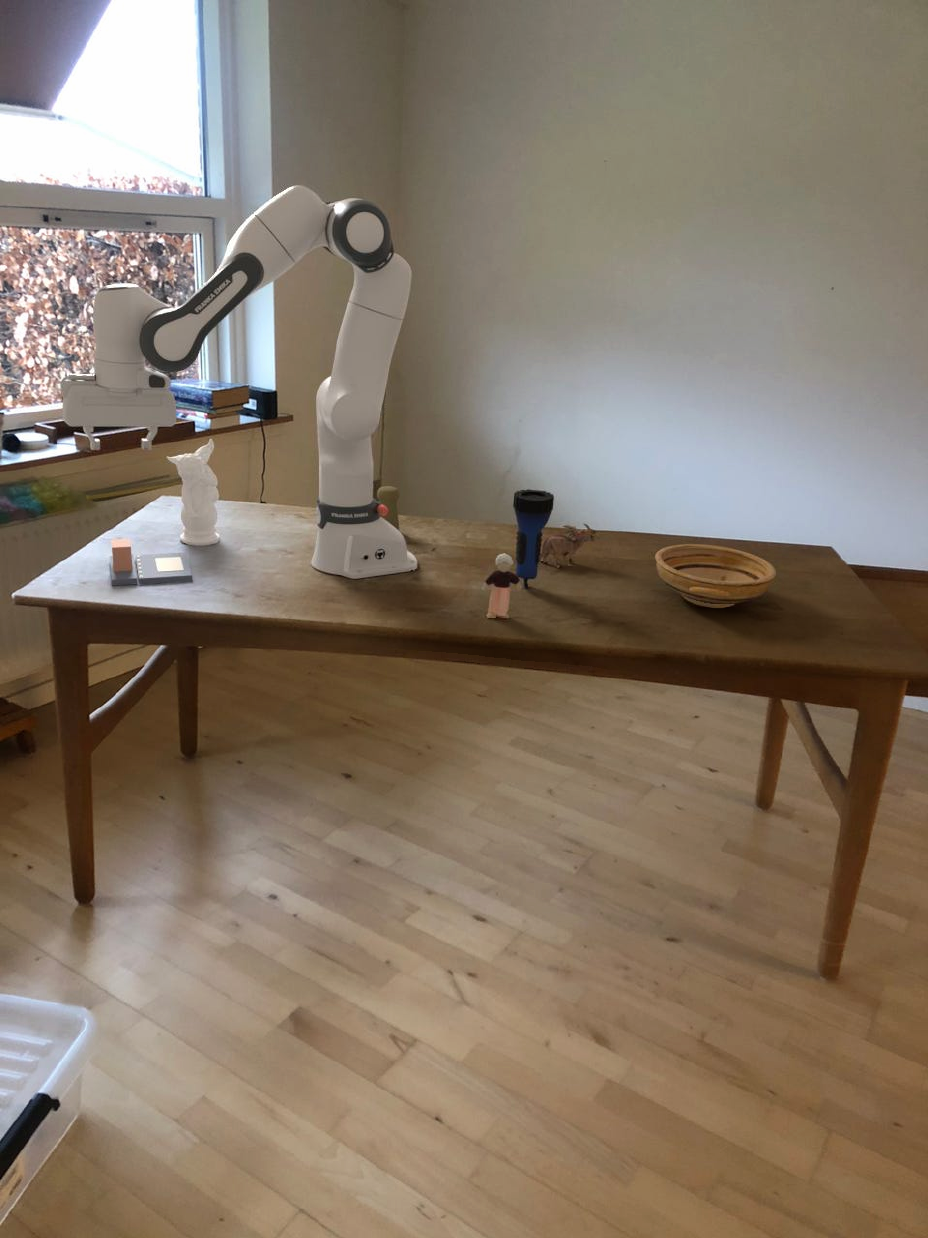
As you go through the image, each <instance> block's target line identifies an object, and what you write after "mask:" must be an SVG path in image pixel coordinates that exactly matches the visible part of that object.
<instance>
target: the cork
mask: <svg viewBox="0 0 928 1238" xmlns="http://www.w3.org/2000/svg"><path fill="white" fill-rule="evenodd" d="M376 497H377V499H378V500H377V501H378V502H380V503H381V504H382V505H385V506H386V507H387V508H388V513H387V515H385V516H381V517H382V518H383V519H385V520H386V521H387V522H389V523H390V524H391V525H392V526H394V527H395V528H396V529H397V530H400V521H399V511H398V500H399V498H400V491H399V490H398V488H397V487H394V486H390V485H387V486H386V485H385V486H381V487H379V488H378V490H377V492H376Z"/></svg>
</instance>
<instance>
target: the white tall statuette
mask: <svg viewBox="0 0 928 1238" xmlns="http://www.w3.org/2000/svg"><path fill="white" fill-rule="evenodd" d="M214 444H215V443H214V441H213V439H212V438H209V441H208V443H207V444H206V445H205V444H204V445H203V446H201V447H199V448H198V449H196V451H195V452H194V453H184V454H179V455H175V456H171V457H170V456H166V458H167V460H168V461H169V462H171V463H172V464H175V466H176V471H177V472H178V473H177V474H178V476H179V477H180V478H181V482H182V487H181V502H182V504H183V505H182V507H181V510H180V511H181V512H180V520H181V522H182V524H183V529H182V531H183V533H181V534H180V536H179V538H180V539H179V540H180V541H181V542H182V543H185V544H186V545H189V546H195V547H197V546H198V547H201V546H202V547H203V546H204V547H205V546H211V545H213V544H217V543H219V542H220V538H221V537H220V535H219V533H217V528H216V526H217V525H216V524H217V522H218V511H217V508H216V505H215V503H217V502H218V501H219V497H220V493H219V490H218V488H217V486H218V485H219V484H218V478H217V476H216V474H215V473H214V472H213V470H212V469H211V467H210V466H209V464H207V463H208V461H209V460H210V455H211V454H212V453H213V451H214V449H215V445H214ZM218 541H219V542H218Z"/></svg>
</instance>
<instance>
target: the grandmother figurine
mask: <svg viewBox="0 0 928 1238" xmlns="http://www.w3.org/2000/svg"><path fill="white" fill-rule="evenodd" d="M513 564H514V560H513V559H512V556H510V555H509V554H507V553H501V554H500V553H499V554H498V555H497V557H496V558H495V565H496V568H497V570H495V571H493V572H492V573H491V574H490V575H489V576H488V577H487V578H486V579H485V581H484V583H483V586H481V589H480V590H481V591H482V592H487V589H488V588H489V587H490V586H491V585H492V588H491V592H490V597H489V603H488V610H487V611H488V613H487V615H486V616H487V617H488V618H496V617H499V618H500V617H501V618H508V617H509V618H510V615H509V614H508V611H509V606H510V605H509V604H510V599H511V598H510V597H511V584H513V585H515V587H516V590H518V591H520V590H522V585H521V582H520V580H521V578H519V577H517V575H516V573H514V572H511V571H510V569H511V567H512V566H513ZM488 618H487V619H488ZM501 618H500V619H501ZM509 618H508V619H509ZM496 619H497V618H496Z"/></svg>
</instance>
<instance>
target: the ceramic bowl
mask: <svg viewBox="0 0 928 1238" xmlns="http://www.w3.org/2000/svg"><path fill="white" fill-rule="evenodd" d="M654 559H655V561H656V565H655V566H656V570H657V573H658V575H659V577H660V579H661V580H662V582H663V583H664V585H665V586H667V587H668V588H670V589H671V590H673V591H674V592H676V593H678V594H680V595H681V596H682V595H684V596H686V597H688V598H690V599H693V600H696V601H700V602H704V603H710V604H733V603H736V604H737V603H743V602H748V601H752V600H754V599H756V598H758V597H760V596H761V595H763V594H764V593H765V592H766V591H767V590H768V589H769V587H770V585H771V583H772V582H773V579H774V578H775V577H776V574H777V571H776V569H775V567H774V566H773V564H771V563H770V562H769V561H767V560H765V559H763V558H762V557H759V556H756V555H755V554H753V553H749V552H745V551H743V550H739V549H735V548H730V547H725V546H720V545H712V544H698V543H696V544H694V543H688V544H687V543H686V544H676V545H671V546H666V547H664V548H662V549H660V550H658V551H657V552H656V553H655V556H654Z"/></svg>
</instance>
